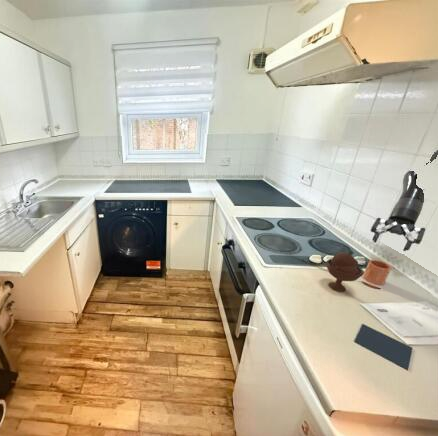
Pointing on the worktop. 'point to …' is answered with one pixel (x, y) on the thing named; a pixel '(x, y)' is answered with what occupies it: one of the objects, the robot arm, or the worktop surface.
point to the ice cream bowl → (343, 270)
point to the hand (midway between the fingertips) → (389, 245)
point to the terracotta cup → (376, 273)
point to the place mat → (384, 346)
